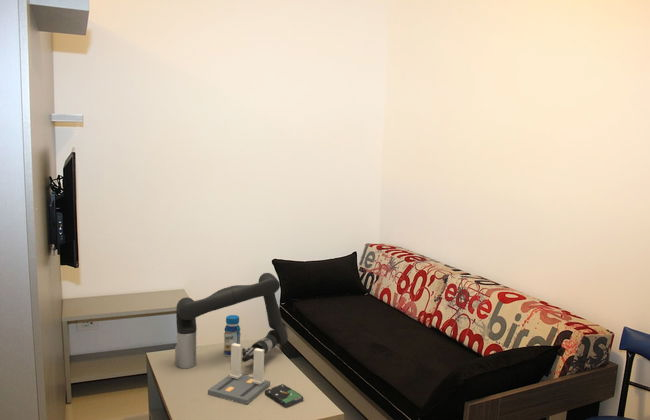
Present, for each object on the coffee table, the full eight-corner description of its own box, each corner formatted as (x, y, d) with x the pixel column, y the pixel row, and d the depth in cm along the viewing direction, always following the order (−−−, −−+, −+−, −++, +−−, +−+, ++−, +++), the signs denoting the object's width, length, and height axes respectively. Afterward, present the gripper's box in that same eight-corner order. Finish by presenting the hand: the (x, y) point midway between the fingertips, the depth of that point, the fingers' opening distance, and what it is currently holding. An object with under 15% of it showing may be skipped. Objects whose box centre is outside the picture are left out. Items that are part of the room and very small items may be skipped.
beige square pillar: (229, 377, 243) (230, 345, 241) (233, 374, 246) (234, 342, 244) (237, 379, 241) (238, 347, 239) (241, 376, 244) (242, 344, 242)
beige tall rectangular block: (251, 382, 238) (252, 350, 236) (256, 379, 241) (256, 347, 239) (260, 384, 237) (261, 352, 235) (264, 381, 240) (265, 349, 238)
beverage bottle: (243, 354, 275) (244, 317, 273) (230, 358, 269) (230, 320, 266) (233, 349, 281) (234, 313, 278) (220, 353, 275) (221, 316, 272)
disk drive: (264, 396, 233) (285, 409, 222) (264, 390, 232) (285, 402, 222) (282, 389, 240) (304, 401, 229) (282, 383, 239) (304, 395, 229)
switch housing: (207, 394, 231) (207, 389, 231) (233, 376, 249) (233, 372, 249) (247, 404, 223) (247, 400, 223) (270, 385, 241) (270, 381, 241)
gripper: (250, 337, 267) (231, 349, 251) (273, 342, 262) (256, 355, 246) (250, 351, 268) (231, 364, 252) (273, 357, 263) (255, 370, 247)
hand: (243, 359), depth 249 cm, fingers closed
